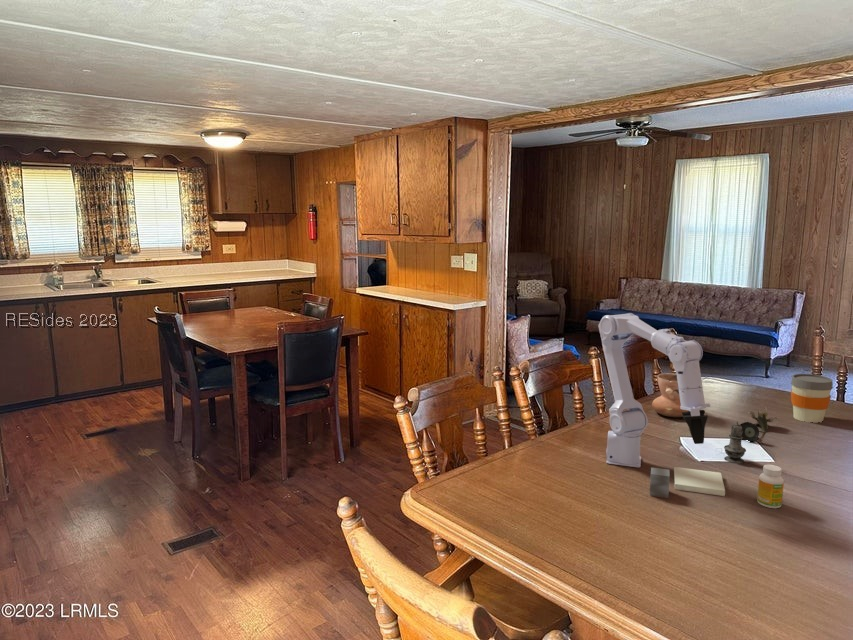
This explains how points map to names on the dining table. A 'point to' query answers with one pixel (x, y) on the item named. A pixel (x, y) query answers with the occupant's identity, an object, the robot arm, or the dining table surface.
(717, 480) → the cream square slab
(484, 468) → the dining table surface
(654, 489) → the slate block
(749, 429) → the artificial flower
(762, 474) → the supplement bottle
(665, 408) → the ceramic jug
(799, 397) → the reusable coffee cup
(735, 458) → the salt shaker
